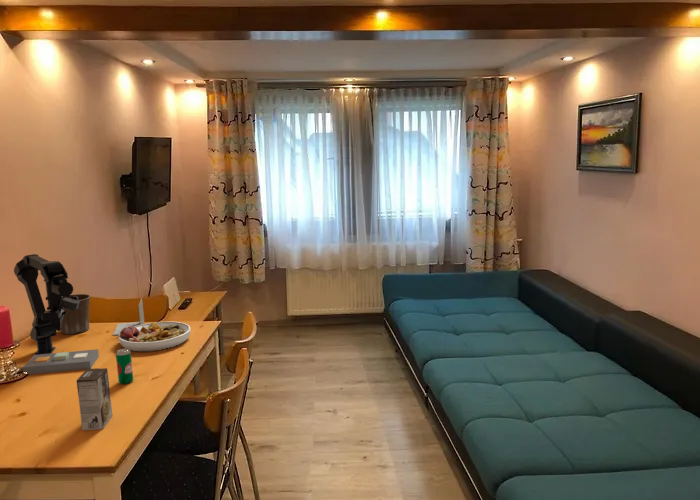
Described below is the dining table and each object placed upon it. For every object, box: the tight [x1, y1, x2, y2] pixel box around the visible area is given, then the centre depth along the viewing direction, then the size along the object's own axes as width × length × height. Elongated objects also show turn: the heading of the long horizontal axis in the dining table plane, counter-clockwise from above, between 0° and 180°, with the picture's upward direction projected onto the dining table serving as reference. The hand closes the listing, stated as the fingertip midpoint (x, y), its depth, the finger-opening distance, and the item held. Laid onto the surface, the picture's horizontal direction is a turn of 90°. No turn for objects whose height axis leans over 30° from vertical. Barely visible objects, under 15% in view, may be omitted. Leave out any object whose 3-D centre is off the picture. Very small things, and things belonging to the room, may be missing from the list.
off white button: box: [73, 353, 88, 359], centre depth 226 cm, size 4×4×3 cm
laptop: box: [112, 297, 145, 336], centre depth 270 cm, size 18×12×13 cm
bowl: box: [118, 321, 191, 352], centre depth 250 cm, size 30×30×8 cm
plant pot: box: [60, 293, 91, 335], centre depth 268 cm, size 16×16×16 cm
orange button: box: [34, 356, 50, 362], centre depth 223 cm, size 4×4×3 cm
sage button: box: [54, 351, 70, 361], centre depth 224 cm, size 4×4×3 cm
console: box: [22, 349, 100, 375], centre depth 224 cm, size 14×24×3 cm, turn 102°
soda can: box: [115, 348, 134, 385], centre depth 205 cm, size 5×5×12 cm
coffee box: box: [76, 367, 113, 431], centre depth 173 cm, size 9×6×16 cm
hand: (59, 330), depth 230 cm, fingers closed
